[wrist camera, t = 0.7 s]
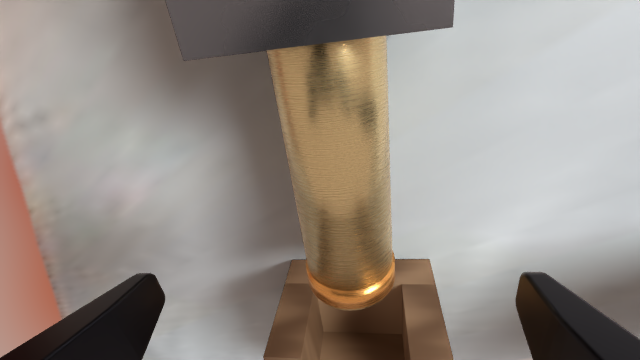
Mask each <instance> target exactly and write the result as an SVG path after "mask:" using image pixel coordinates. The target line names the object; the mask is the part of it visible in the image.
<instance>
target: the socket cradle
mask: <svg viewBox="0 0 640 360" xmlns="http://www.w3.org/2000/svg"><path fill="white" fill-rule="evenodd" d="M263 358H264V360H453V355H452V351H451V347H450V343H449V339H448V335H447V330H446V326H445V322H444V318H443V314H442V310H441V305H440V301H439V297H438V293H437V289H436V285H435V280H434V276H433V272H432V268H431V264H430V260H429V259H395V281H394V284H393V287H392V289H391V290H390V292H389V293H388V294H387V295H386V297H385V298H384V299H383V300H381V301H380V302H379V303H377V304H375V305H373V306H371V307H368V308H365V309H361V310H351V311H349V310H340V309H336V308H333V307H331V306H328V305H327V304H325V303H323V302H322V301H321V300H320V299H318V298H317V297H316V296H315V295H314V293H313V292H312V290H311V288H310V285H309V280H308V275H307V270H306V260H292V262H291V265H290V268H289V272H288V275H287V279H286V282H285V285H284V289H283V292H282V295H281V299H280V302H279V305H278V309H277V312H276V316H275V319H274V322H273V326H272V329H271V332H270V336H269V339H268V343H267V346H266V349H265V353H264V356H263Z"/></svg>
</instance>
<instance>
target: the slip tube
mask: <svg viewBox="0 0 640 360" xmlns="http://www.w3.org/2000/svg"><path fill="white" fill-rule="evenodd" d="M267 54H268V60H269V65H270V70H271V75H272V81H273V86H274V91H275V96H276V102H277V107H278V112H279V117H280V123H281V128H282V133H283V138H284V143H285V149H286V154H287V159H288V164H289V170H290V175H291V180H292V185H293V191H294V196H295V201H296V206H297V212H298V217H299V222H300V227H301V233H302V238H303V243H304V248H305V253H306V270H307V275H308V280H309V285H310V288H311V290H312V292H313V293H314V295H315V296H316V297H317V298H318V299H320V300H321V301H322V302H323V303H325V304H327V305H328V306H331V307H333V308H336V309H340V310H349V311H351V310H361V309H365V308H368V307H371V306H373V305H375V304H377V303H379V302H380V301H381V300H383V299H384V298H385V297H386V295H387V294H388V293H389V292H390V290H391V289H392V287H393V284H394V281H395V257H394V253H393V251H392V226H391V189H390V153H389V117H388V80H387V44H386V36H378V37H370V38H362V39H354V40H346V41H338V42H330V43H322V44H314V45H306V46H298V47H290V48H282V49H274V50H267Z"/></svg>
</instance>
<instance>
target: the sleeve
mask: <svg viewBox="0 0 640 360" xmlns="http://www.w3.org/2000/svg"><path fill="white" fill-rule="evenodd" d="M165 1H166V5H167V8H168V11H169V14H170V18H171V21H172V24H173V27H174V31H175V34H176V37H177V40H178V44H179V47H180V50H181V53H182V57H183V60H184V61H187V60H195V59H203V58H211V57H219V56H227V55H235V54H243V53H251V52H259V51H266V50H274V49H282V48H290V47H298V46H306V45H314V44H322V43H330V42H338V41H346V40H354V39H362V38H370V37H378V36H386V35H394V34H402V33H410V32H418V31H426V30H434V29H442V28H450V27H453V16H454V0H165Z"/></svg>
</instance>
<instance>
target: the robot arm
mask: <svg viewBox="0 0 640 360" xmlns="http://www.w3.org/2000/svg"><path fill="white" fill-rule="evenodd" d="M164 303H165V294H164V292H163V290H162V288H161V286H160V284H159V282H158V280H157V278H156V276H155V275H154V274H151V273H139V274H136V275H134V276H132V277H131V278H129V279H127V280H126V281H124V282H122V283H121V284H119V285H118V286H116V287H114V288H113V289H111V290H109V291H108V292H106V293H105V294H103V295H101V296H100V297H98V298H96V299H95V300H93V301H92V302H90V303H88V304H87V305H85V306H83V307H82V308H80V309H79V310H77V311H75V312H74V313H72V314H70V315H69V316H67V317H66V318H64V319H62V320H61V321H59V322H58V323H56V324H54V325H53V326H51V327H49V328H48V329H46V330H45V331H43V332H41V333H40V334H38V335H37V336H35V337H33V338H32V339H30V340H28V341H27V342H25V343H23V344H22V345H20V346H19V347H17V348H15V349H14V350H12V351H10V352H9V353H7V354H6V355H4V356H2V357H1V358H0V360H142V358H143V356H144V353H145V351H146V348H147V346H148V343H149V341H150V338H151V336H152V333H153V331H154V328H155V326H156V323H157V321H158V318H159V316H160V313H161V311H162V308H163V306H164ZM516 308H517V311H518V315H519V318H520V321H521V324H522V327H523V330H524V333H525V336H526V339H527V343H528V346H529V349H530V352H531V355H532V358H533V360H640V339H638V338H637V337H636V336H634V335H633V334H631V333H630V332H628V331H627V330H626V329H624V328H623V327H621V326H620V325H618V324H617V323H616V322H614V321H613V320H611V319H610V318H609V317H607V316H606V315H604V314H603V313H601V312H600V311H599V310H597V309H596V308H594V307H593V306H591V305H590V304H589V303H587V302H586V301H584V300H583V299H582V298H580V297H579V296H577V295H576V294H574V293H573V292H572V291H570V290H569V289H567V288H566V287H564V286H563V285H562V284H560V283H559V282H557V281H556V280H555V279H553V278H552V277H550V276H549V275H547V274H546V273H543V272H524V273H522V274H521V276H520V280H519V285H518V290H517V295H516Z"/></svg>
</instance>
